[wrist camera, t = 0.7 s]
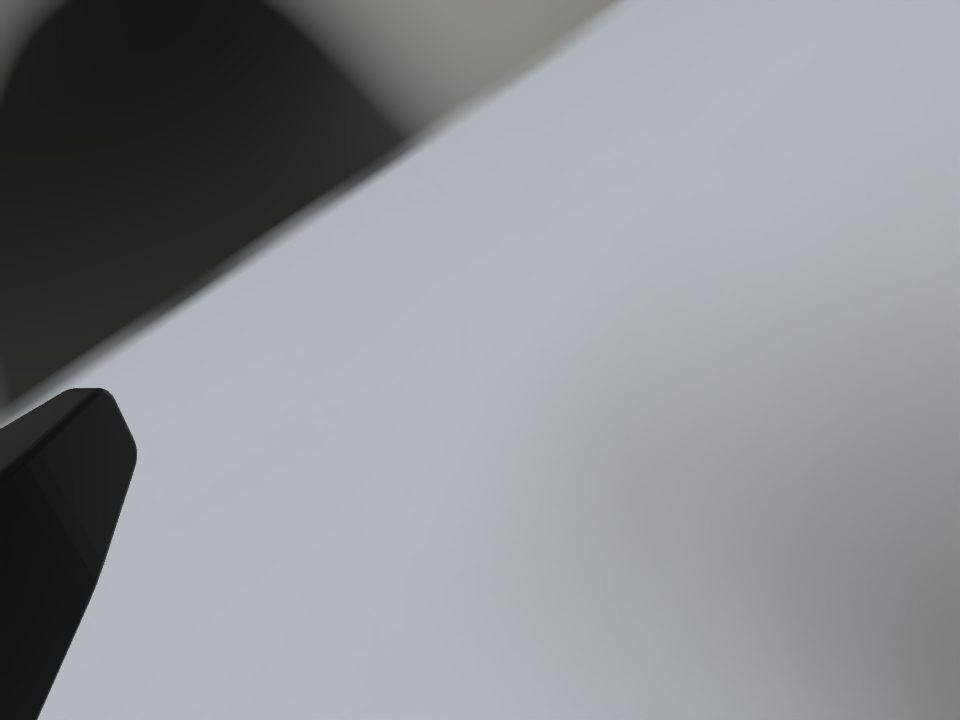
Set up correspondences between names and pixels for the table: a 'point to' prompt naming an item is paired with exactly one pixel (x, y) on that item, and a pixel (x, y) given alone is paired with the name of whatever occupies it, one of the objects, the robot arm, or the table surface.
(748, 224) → the table surface
